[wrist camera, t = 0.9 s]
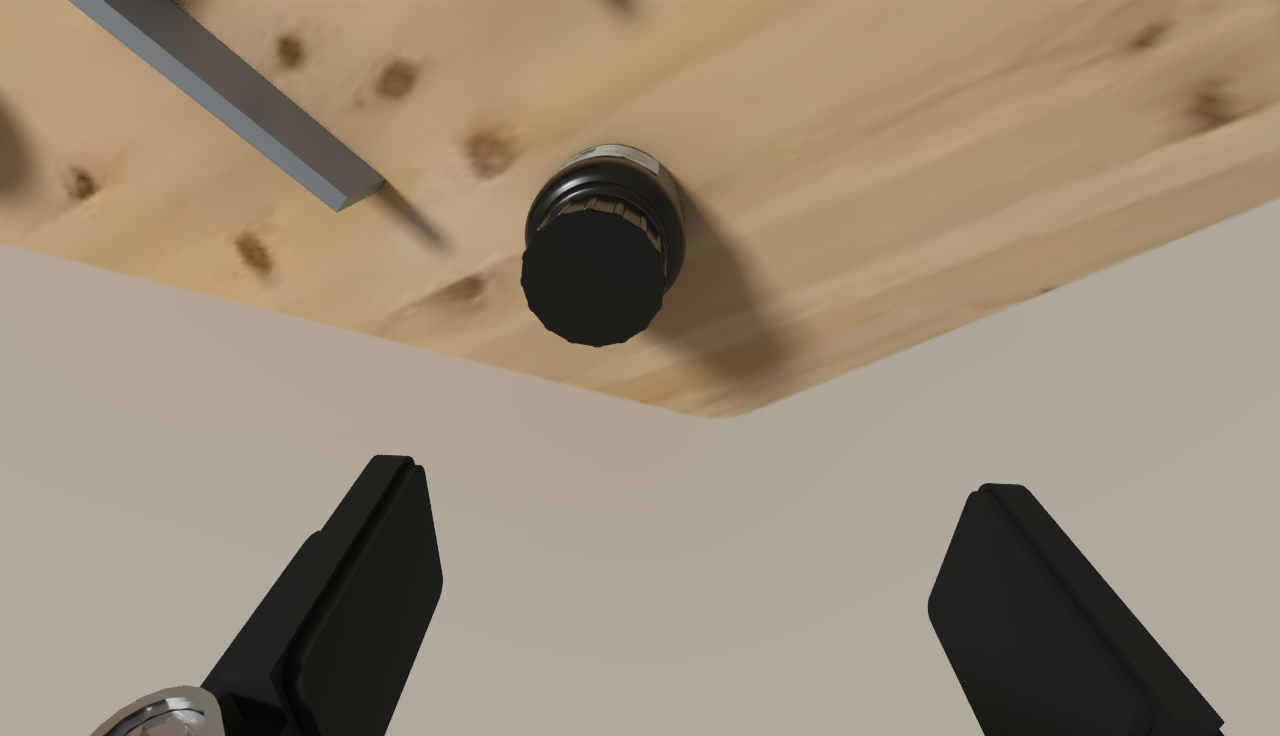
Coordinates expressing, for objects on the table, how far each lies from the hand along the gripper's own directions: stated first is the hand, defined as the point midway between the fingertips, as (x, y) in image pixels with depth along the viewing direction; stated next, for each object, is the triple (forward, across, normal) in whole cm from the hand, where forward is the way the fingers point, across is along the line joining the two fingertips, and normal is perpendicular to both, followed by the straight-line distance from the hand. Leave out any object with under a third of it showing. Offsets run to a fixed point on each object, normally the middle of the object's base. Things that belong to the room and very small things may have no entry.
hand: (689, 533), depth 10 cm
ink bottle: (+30, +3, +2) cm, 31 cm away
